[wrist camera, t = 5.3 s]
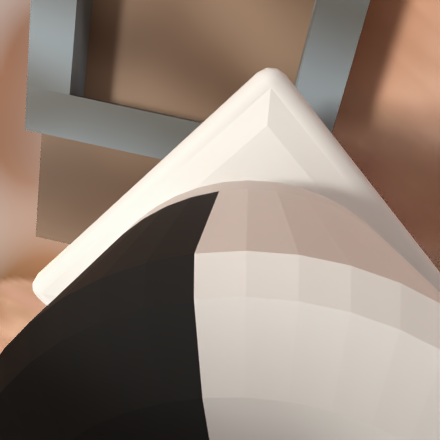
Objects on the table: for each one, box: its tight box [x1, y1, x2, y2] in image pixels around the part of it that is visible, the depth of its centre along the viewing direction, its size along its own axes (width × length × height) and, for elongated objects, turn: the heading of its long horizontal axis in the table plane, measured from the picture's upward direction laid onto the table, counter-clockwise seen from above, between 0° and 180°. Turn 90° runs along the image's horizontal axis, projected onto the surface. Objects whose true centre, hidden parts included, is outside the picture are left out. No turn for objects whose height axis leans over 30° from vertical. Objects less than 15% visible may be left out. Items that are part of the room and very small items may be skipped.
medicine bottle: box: [0, 68, 440, 440], centre depth 9 cm, size 7×7×12 cm
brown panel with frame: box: [25, 0, 370, 244], centre depth 17 cm, size 20×14×2 cm
